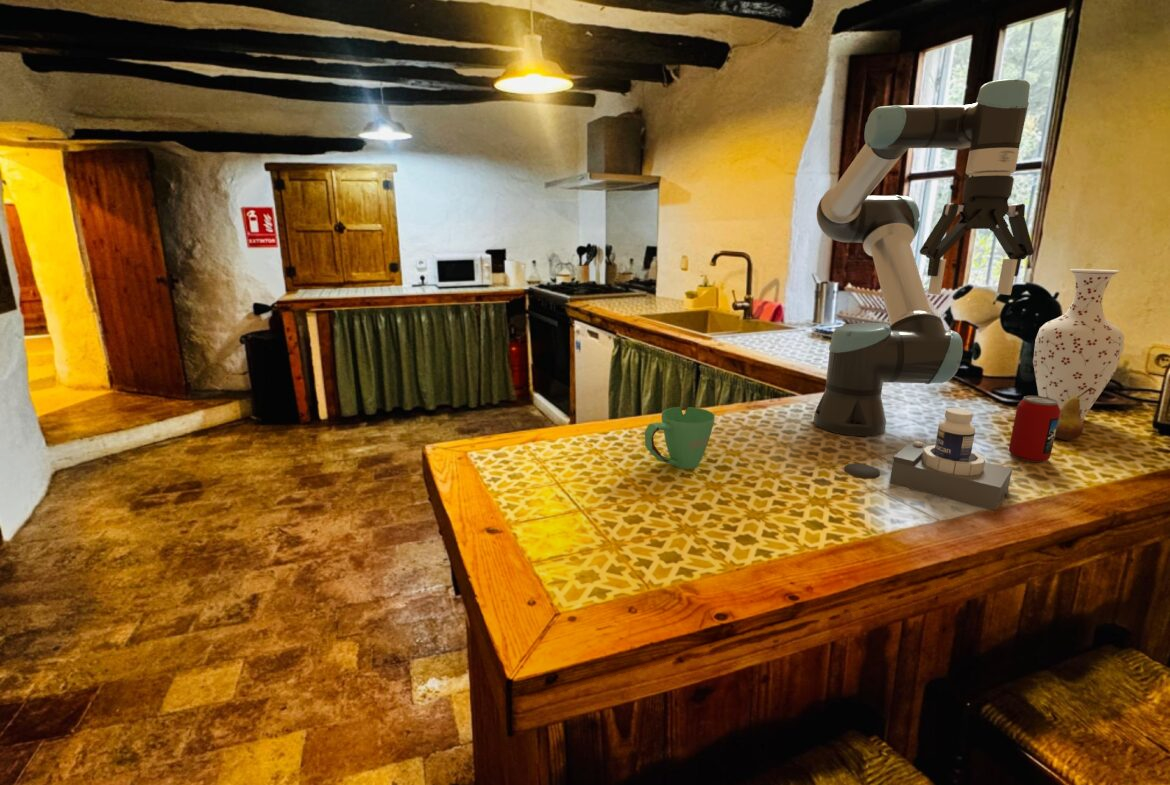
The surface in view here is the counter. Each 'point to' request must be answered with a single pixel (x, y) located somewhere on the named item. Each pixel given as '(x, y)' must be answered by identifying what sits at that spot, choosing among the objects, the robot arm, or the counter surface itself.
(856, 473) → the lens cap
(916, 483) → the camera body
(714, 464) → the counter surface
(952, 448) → the pill bottle
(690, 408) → the mug
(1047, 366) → the vase
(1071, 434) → the fruit
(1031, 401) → the beverage can
